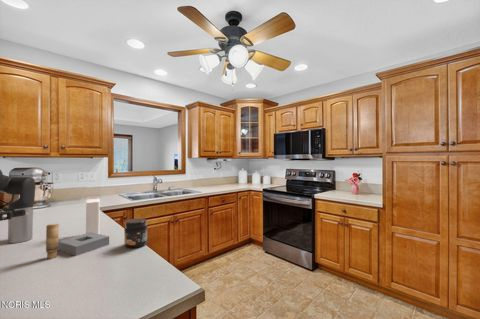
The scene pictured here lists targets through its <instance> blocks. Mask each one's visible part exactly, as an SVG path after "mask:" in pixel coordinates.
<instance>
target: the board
mask: <svg viewBox="0 0 480 319" xmlns="http://www.w3.org/2000/svg"><path fill="white" fill-rule="evenodd" d="M108 245H110V236H109V235H105V234H101V233H99V234H96V233H92V232H90V233H87V234H86V233H84V234H79V235H77V236H76V235H75V236H72V237H69V238H64V239H62V240H58V250H57V251H60V252H63V253H67V254H69V255H72V256H80V255H83V254H86V253H88V252H91V251H94V250H97V249H101V248H103V247H106V246H108Z"/></svg>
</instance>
